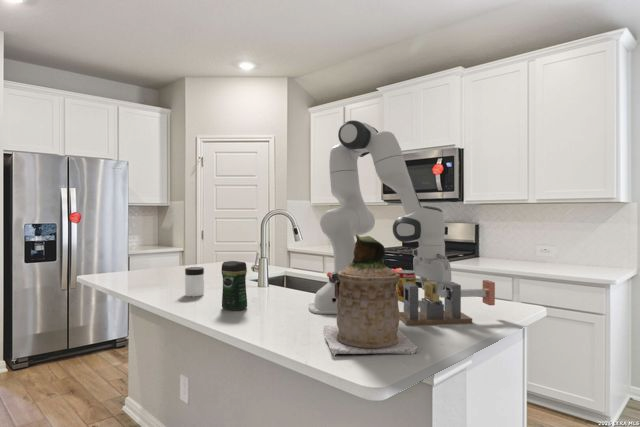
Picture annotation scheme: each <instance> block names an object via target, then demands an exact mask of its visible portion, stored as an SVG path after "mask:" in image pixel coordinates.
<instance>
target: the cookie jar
mask: <svg viewBox="0 0 640 427" xmlns="http://www.w3.org/2000/svg"><path fill="white" fill-rule="evenodd" d="M355 238H356V240H355V248H354V259H353V261H352V263H350V264H349V265H348V266H347V267H346V268H345V270H342V271H339V272H338V278H339V280H340V281H336V282H335V292H334V294H335V297H336V298H337V299H338V302H337V314H336V326H334V325H323V330H322V331H323V335H324V340H325V341H326V342H327V345H328V346H329V347H328V348H329V350H330V351H331V353H332V354H331V355H332V356H333V355H336V356H337V355H339V354H342V355H343V354H345V355H348V354H349V355H350V354H351V355H357V354H359V355H361V354H363V355H364V354H367V355H368V354H401V355H411V354H410V353H414V354H415V353H416V351H417V350H418V346H417V345H416V344H415V343H414V342H412V341H411V340H410V338H409V337H408V336H405V334H403V333H404V332H402V331H401V330H400V329H399V326H400V321H401V320H400V312H401V311H400V309H399V300H398V294H397V282H398V281H399V279H400V275H399V274H398V273H397V272H395V271H394V270H393V269H391V268H390V267H388V266H386V265H385V264H384V263H383V261H384V258H385V255H386V254H385V252H386V248H385V246H384V245H383V244H382V243H381V242H380V241H378V240H376V239H375V238H374V237H372V236H370V235H368V236H367V235H366V236H361V235H358V234H356V236H355Z"/></svg>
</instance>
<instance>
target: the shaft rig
mask: <svg viewBox="0 0 640 427" xmlns="http://www.w3.org/2000/svg"><path fill="white" fill-rule="evenodd" d="M443 290H451V297H446V298H444V303H443V300H441V299H439V301H437V302H432V301H430V300H427V299H425V298H424V297H422V298H421V300H419V286H418V285H417V284H416V285H415V284H413V283H404V301H403V311H399V312H400V320H399V321H401V322H402V323H403V324H404V325H405V326H429V325H430V326H432V325H453V324H454V325H457V324H459V323H461V324H473V318H472V317H471V316H468V315H467V314H465V313H463V312H462V307H461V306H462V300H461V299H462V297H461V290H462V285H461V284H459V283H456V282H454V281H451V282H450V283H448V284H444V287H443Z"/></svg>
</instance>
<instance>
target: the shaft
mask: <svg viewBox="0 0 640 427" xmlns="http://www.w3.org/2000/svg"><path fill="white" fill-rule="evenodd" d="M495 291H496V282H495V281H492V280H489V279H482V288H474V289H473V288H470V289H469V288H468V289H466V288H465V289H462V288H461V298H477V297H482V303H484V304H486V305H487V306H495V305H496V296H495V295H496V292H495ZM446 297H451V290H444V289H443V290H442V295H439V298H441V299H442V298H446Z"/></svg>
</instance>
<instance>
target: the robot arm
mask: <svg viewBox="0 0 640 427" xmlns="http://www.w3.org/2000/svg"><path fill="white" fill-rule="evenodd" d="M337 135H338V136H337V137H338V140H339V142H340V143H339V144H336V145H335V146H333V147H332V148H331V150H330V154H329V161H328V162H329V166H328V168H329V179H330V180H329V181H330V182H329V183H330V192H331V194H332V196H333V197H334V198H335V199H336V200H337V201H338V204H339V205H340V208H339V207H335V208H331V209H329V210H326V211H325V212H323V213H322V215H321V216H320V220H319V225H320V229H321V231H322V232H323V234H324V235H325V236H326V237H328V239H329V240H328V241H329V242H330V244H331V247H332V251H333V272H330V271H328V272H326V277H327V278H328V282H326V284H324V285H323V286H322V287H321V288H319V289H318V290H317V291H316V293H315V295H314V296H315V297H314V301H313V303H310V304H309V305H308V310H309V312H311V313H312V314H319V315H320V314H322V315H327V314H328V315H331V314H332V315H337V302H338V299H337V298H336V297H335V294H334V292H335V282H336V281H340V280H339V278H338V272H339V271H342V270H345V268H346V267H347V266H348V265H349V264H350V263H352V261H353V259H354V248H355V243H356V240H355V237H356V234H358V236H362V235H365V234H366V235H367V233H370V232H372V230H373V229H374V227H375V221H376V220H375V216H374V214H373V212H372V211H371V210H369V208H368V207H367V205H366V202H365V201H364V198H363V195H362V191H361V187H360V178H359V168H358V160H359V157H360V158H363V157H365V156H367V155H369V154H370V156H371V158H372V162H373V165H374V170H375V172H376V176H377V177H378V178H379V181H380V182H382V183H383V184H384V185H385V186H387V187H389V188H390V189H391V190H393V191H394V192H395V193H396V194H397V195H398V197H399V199H400V202H401V204H402V207H403V210H404V213H405V215H403V216H400V217H399V216H398V217H397V218H396V219H395V220H394V222H393V225H392V233H393V236H394V238H395V239H396V240H397V241H399V242H400V243H401V242H402V243H414V242H418V247H417V248H414V249H413V250H412V256H414V257H413V261H412V262H413V264H412V265H413V271H414V273H415V275H416V277H419V281H420V284H421V290H422V291H423V290H424V281H432V282H435V283H437V285H438V286H437V290H435V294H436V295H442V290H444V288H445V284H448V283H450V282H452V268H451V263H450V261H449V259H448V257H447V256H446V243H445V242H446V241H445V232H446V226H445V225H446V224H445V215H444V214H445V213H444V211H443V210H442V209H441V208H439V207H435V206H429V205H428V206H427V205H423V206H422V205H421V202H420V199H419V196H418V195H417V191H416V189H415V186H414V184H413V181H412V178H411V176H410V174H409V169H408V167H407V164H406V160H405V158H404V153H403V151H402V148H401V146H400V144H399V141H398V139H397V138H396V136H395V134H394V133H392V132H391V131H387V130H386V131H385V130H383V131H378V130H377V129H376V128H375V127H373V126H372V125H371V124H368V123H366V122H361V121H358V120H348V121H345V122H344V123H342V124H341V125H340V127H339V129H338V134H337Z"/></svg>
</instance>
